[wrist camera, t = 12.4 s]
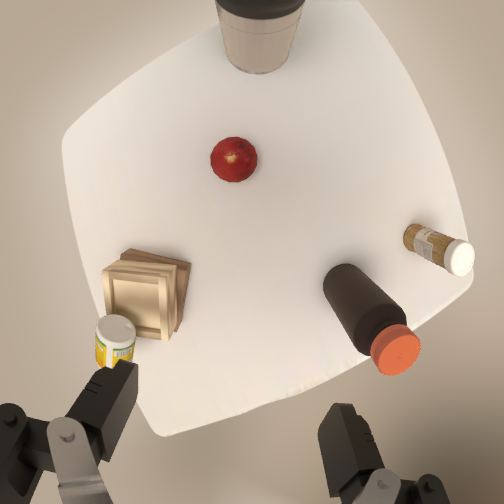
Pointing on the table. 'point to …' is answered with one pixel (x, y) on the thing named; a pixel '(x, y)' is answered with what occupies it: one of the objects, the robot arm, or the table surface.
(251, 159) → the onion
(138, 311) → the tower top
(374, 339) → the vinegar
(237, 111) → the table surface
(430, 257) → the sprinkles bottle
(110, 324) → the supplement bottle
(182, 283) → the tower base
